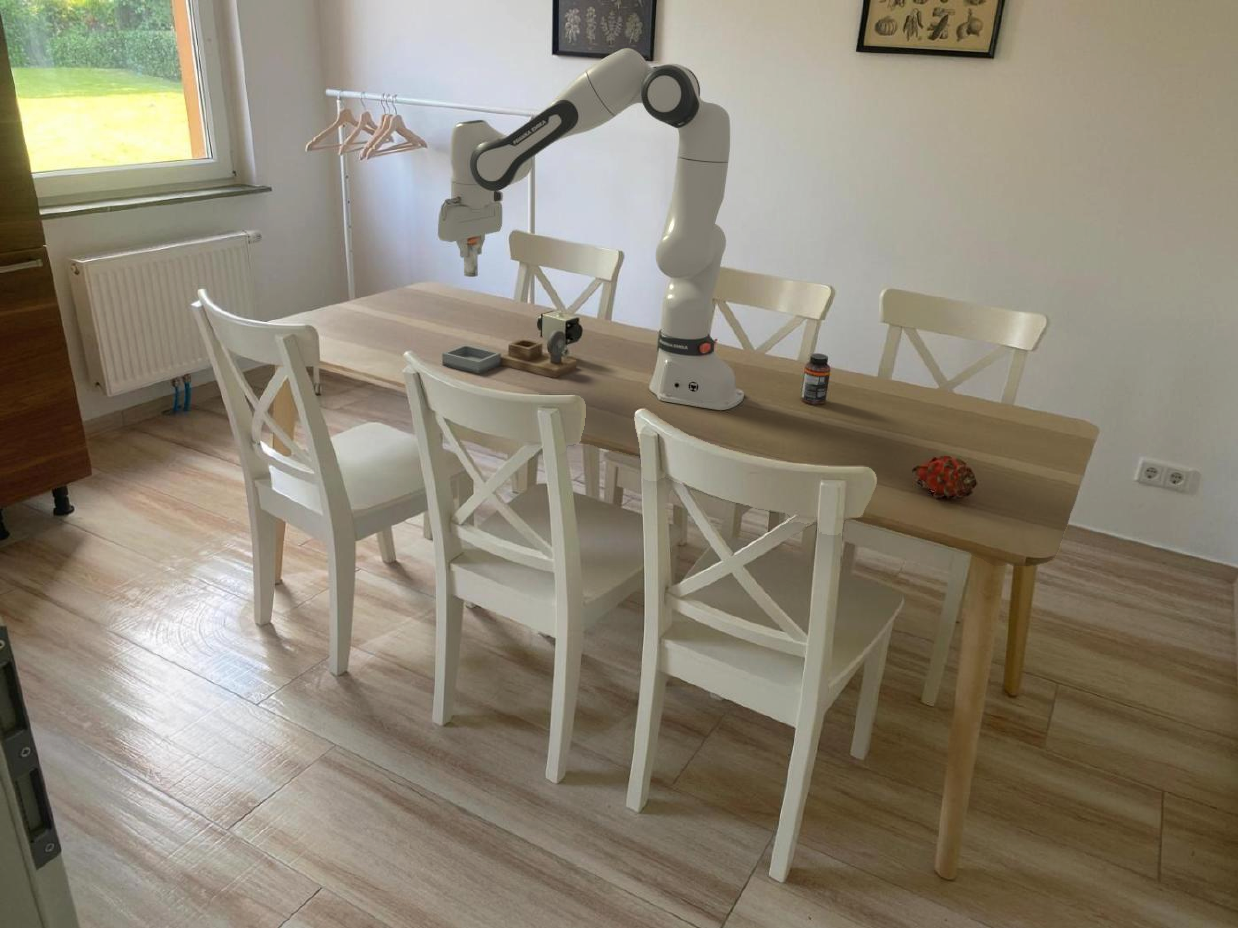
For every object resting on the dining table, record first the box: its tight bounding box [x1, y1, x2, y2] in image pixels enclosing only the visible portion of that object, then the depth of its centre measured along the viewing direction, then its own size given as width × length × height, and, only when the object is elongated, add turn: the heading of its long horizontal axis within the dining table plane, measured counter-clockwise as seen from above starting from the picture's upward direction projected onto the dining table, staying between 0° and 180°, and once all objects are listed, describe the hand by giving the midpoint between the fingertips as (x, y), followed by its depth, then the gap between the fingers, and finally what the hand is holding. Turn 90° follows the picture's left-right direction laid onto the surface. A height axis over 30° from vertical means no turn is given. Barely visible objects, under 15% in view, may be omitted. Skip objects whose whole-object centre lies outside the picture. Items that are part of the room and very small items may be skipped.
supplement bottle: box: [800, 353, 831, 406], centre depth 212 cm, size 6×6×11 cm
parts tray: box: [441, 344, 502, 375], centre depth 223 cm, size 11×9×3 cm
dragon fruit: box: [911, 454, 978, 500], centre depth 170 cm, size 8×8×12 cm
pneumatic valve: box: [536, 310, 583, 358], centre depth 231 cm, size 6×12×12 cm, turn 53°
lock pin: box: [463, 237, 479, 278], centre depth 212 cm, size 3×3×9 cm
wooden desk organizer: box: [500, 330, 578, 379], centre depth 223 cm, size 16×10×10 cm, turn 62°
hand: (471, 255), depth 212 cm, fingers closed on lock pin, 3 cm apart
